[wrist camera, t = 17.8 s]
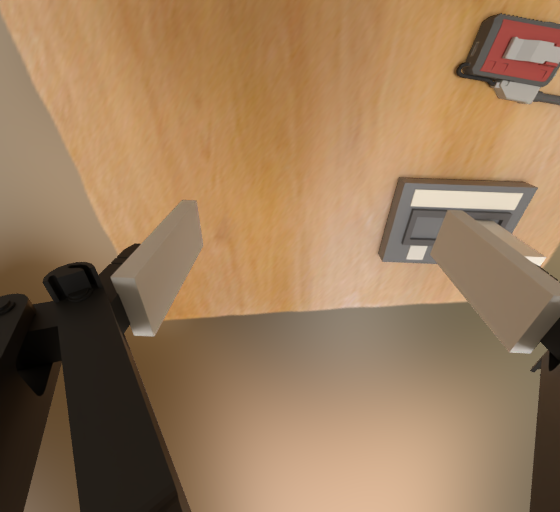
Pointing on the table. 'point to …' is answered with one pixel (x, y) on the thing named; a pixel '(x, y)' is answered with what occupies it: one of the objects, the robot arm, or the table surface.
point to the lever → (514, 242)
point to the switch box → (433, 207)
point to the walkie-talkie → (515, 57)
